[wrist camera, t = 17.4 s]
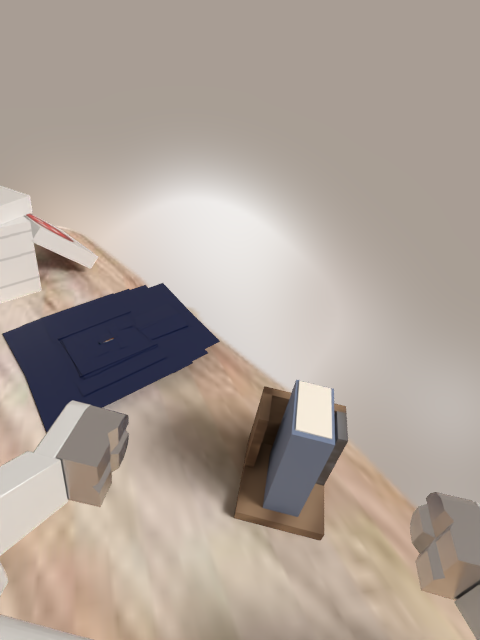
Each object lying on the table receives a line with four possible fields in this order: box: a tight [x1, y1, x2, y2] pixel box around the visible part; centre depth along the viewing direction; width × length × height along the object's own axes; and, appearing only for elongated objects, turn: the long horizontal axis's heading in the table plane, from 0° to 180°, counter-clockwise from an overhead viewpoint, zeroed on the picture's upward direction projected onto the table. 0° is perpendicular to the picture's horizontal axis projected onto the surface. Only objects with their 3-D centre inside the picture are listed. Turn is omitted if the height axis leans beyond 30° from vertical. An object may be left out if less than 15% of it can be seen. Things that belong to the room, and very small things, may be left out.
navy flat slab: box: [3, 283, 220, 432], centre depth 68 cm, size 24×30×4 cm
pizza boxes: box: [0, 186, 98, 304], centre depth 75 cm, size 19×30×18 cm, turn 139°
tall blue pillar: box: [263, 380, 335, 517], centre depth 47 cm, size 4×8×15 cm, turn 170°
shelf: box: [234, 386, 348, 540], centre depth 50 cm, size 11×12×12 cm
